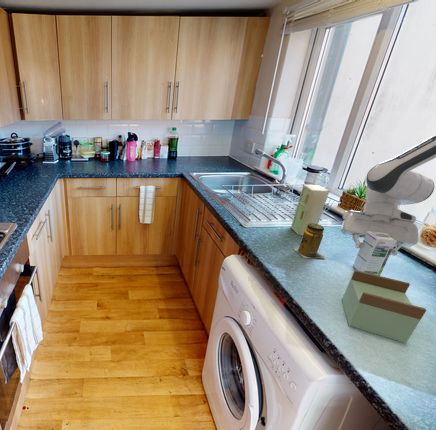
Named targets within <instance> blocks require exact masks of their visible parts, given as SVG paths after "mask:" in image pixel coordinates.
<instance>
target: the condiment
mask: <svg viewBox="0 0 436 430" xmlns="http://www.w3.org/2000/svg"><path fill="white" fill-rule="evenodd" d="M324 232H325V227H324V226H323V225H321V224H319V223H318V224H314V223H311V224H308V226H307V228H306V230H305V231H304V234H303V235H302V237H301V239H300V240H301V241H300V243H299V246H298V247H297V248H294V247H293V250H295V252H296V253H298V255H300V256H301V257H302V258H304V259H326V257H325V256H324V255H323V254H321V253H320V252H319V249H320V246H321V243H322V241H323V238H324V234H323V233H324Z"/></svg>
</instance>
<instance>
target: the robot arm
mask: <svg viewBox="0 0 436 430" xmlns="http://www.w3.org/2000/svg"><path fill="white" fill-rule="evenodd" d="M434 159H436V134H435V135H432V136H430V137H429V138H427V139H425V140H423V141H421V142H420V143H418V144H416V145H414V146H412V147H411V148H409V149H407V150H405V151H404V152H402V153H399V154H398V155H396V156H394V157H392V158H390V159H387V160H385V161H382V162H380V163H377V164H376V165H374V166H373V167H371V168H370V169H369V170H368V172H367V173H366V176H365V177H366V178H365V179H366V180H365V181H366V185H367V186H366V189H365V203H364V205H363V210H362V211H357V210H353V209H349V210H345V211H344V212H343V213H342V220H343V221H342V224H341V227H340V232H341V234H343V235H347V236H351V238H352V240H353V242H354V243H355V244H354V245H355V246H354V247H355V248H356V249H361V248H362V245H363V243H362V242H361V241H360V238H362V239H364V237H365V235H366V233H367V231H370V232H381V233H387V234H389V235H391V236H392V237H394V238H395V239H396V240H397V241H396V243H395V245H394V247H393V249H392V251H391V254H390V256H394V257H397V255H398V250H400V249H401V248H402V247H407V248H411V247H413V246H415V245H417V244H418V243H419V228H418V226H417V225H416V223H415V222H416V221H417V217H416V216H415V215H413V214H411V213H408V212H405V211H403V210H400V209H399V207H398V206H400V205H401V206H406V205H414V204H418V203H422V202H424V201H426V200H427V199H429V198H430V197H431V196H432V194H433V193H434V191H435V182H434V180H433V179H431V178H430V177H427V176H425V175H423V174H421V173H418V172H415V171H413V170H414V169H416V168H418V167H420V166H422V165H424V164H426V163H428V162H431V161H432V160H434Z"/></svg>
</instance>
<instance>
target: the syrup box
mask: <svg viewBox="0 0 436 430" xmlns="http://www.w3.org/2000/svg"><path fill="white" fill-rule="evenodd" d="M396 241H397V240H396V239H395V238H394V237H392V236H391V235H389V234H387V233H381V232H370V231H367V233H366V235H365V237H364V238H363V239H362V242H361V243H363V245H362V248H361V249H360V248H358V252H357V254H356V256H355V259H354V262H353V263H352V267H353V268H355V270H357V271H361V272H366V273H370V274H374V275H378V276H382V275H381V274H382V272H383V270H384V268H385V266H386V264H387V262H388V260H389V258H390V256H391V255H390V254H391V251H392V249H394V248H395V247H394V245H395V243H396Z"/></svg>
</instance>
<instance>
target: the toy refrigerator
mask: <svg viewBox="0 0 436 430" xmlns="http://www.w3.org/2000/svg"><path fill="white" fill-rule="evenodd" d="M329 193H330V190H329V189H327V188H325V187H323V186H321V185H319V184H303V185H302V188H301V192H300V195H299V197H298V198H299V199H298V202H297V205H296V209H295V212H294V216H293V218H292V222H291V226H290V228H291V229H292V230H293V231H294V233H296V234H297V235H298V236H303V234H304V231H305V230H306V228H307V226H308V224H311V223H314V224H318V225H319V222H320V219H321V217H322V213H323V210H324V207H325V205H326V202H327V200H328V196H329Z"/></svg>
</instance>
